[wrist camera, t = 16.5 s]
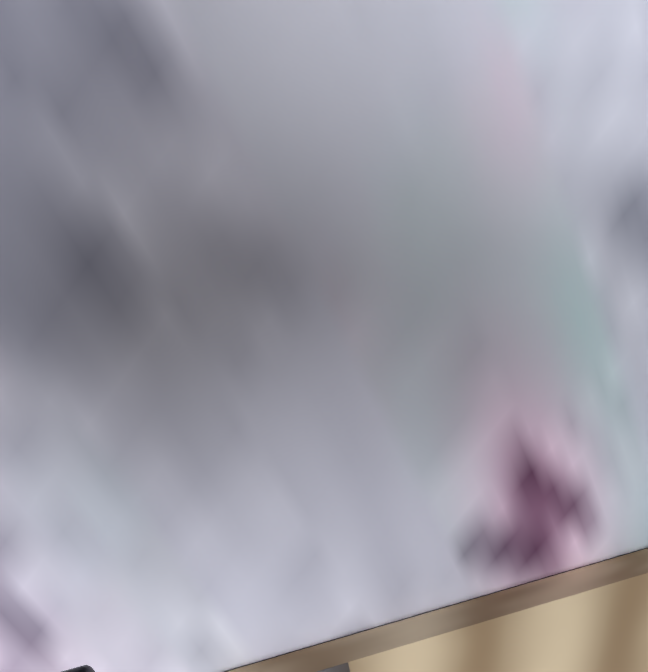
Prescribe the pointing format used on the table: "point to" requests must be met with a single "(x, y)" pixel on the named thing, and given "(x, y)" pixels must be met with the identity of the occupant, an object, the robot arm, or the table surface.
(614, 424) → the table surface
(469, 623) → the board
